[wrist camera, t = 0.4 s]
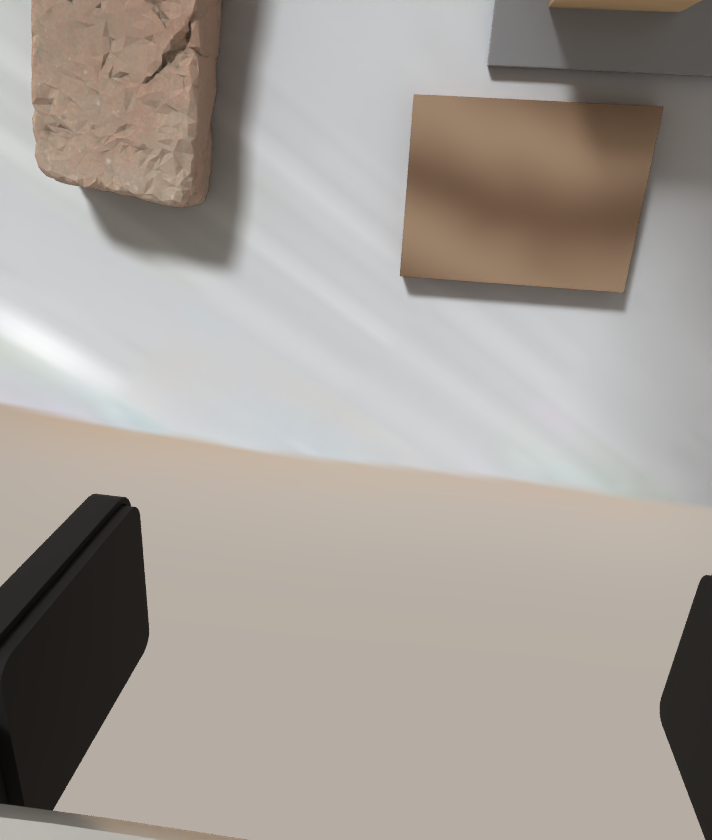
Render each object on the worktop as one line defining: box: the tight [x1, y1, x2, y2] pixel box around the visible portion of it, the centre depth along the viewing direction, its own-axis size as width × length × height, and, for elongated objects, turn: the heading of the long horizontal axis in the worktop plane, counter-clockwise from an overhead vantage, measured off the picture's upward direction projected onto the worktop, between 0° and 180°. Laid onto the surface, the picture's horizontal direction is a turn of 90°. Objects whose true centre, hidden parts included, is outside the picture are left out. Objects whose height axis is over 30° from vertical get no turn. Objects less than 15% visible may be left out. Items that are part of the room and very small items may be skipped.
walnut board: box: [400, 94, 663, 293], centre depth 35 cm, size 9×12×1 cm
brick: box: [31, 0, 222, 207], centre depth 32 cm, size 17×8×5 cm, turn 170°
